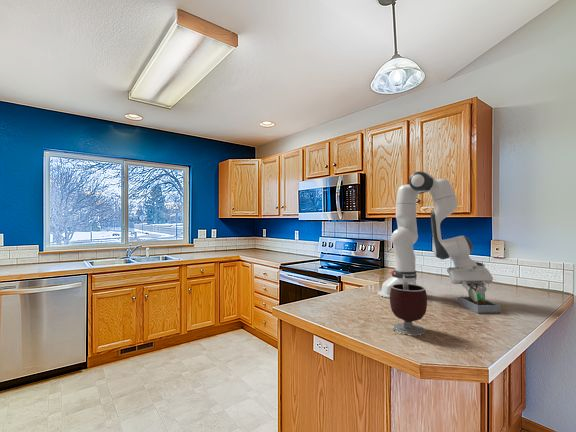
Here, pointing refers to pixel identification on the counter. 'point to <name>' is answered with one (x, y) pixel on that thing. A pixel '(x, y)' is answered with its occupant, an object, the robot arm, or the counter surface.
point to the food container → (477, 293)
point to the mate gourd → (408, 306)
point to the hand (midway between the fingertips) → (477, 290)
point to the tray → (479, 306)
